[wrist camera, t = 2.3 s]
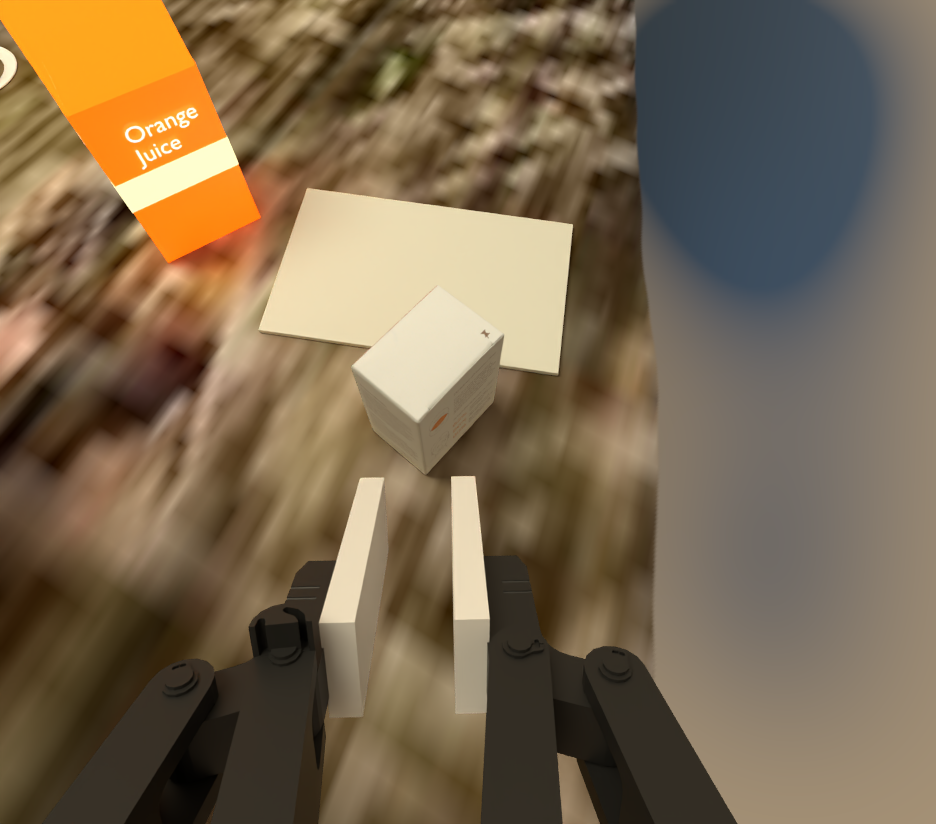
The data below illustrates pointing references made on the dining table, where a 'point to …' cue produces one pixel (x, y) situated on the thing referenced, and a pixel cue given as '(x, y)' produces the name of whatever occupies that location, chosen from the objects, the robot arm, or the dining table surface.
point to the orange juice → (138, 113)
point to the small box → (430, 377)
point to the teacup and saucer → (7, 66)
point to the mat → (420, 273)
